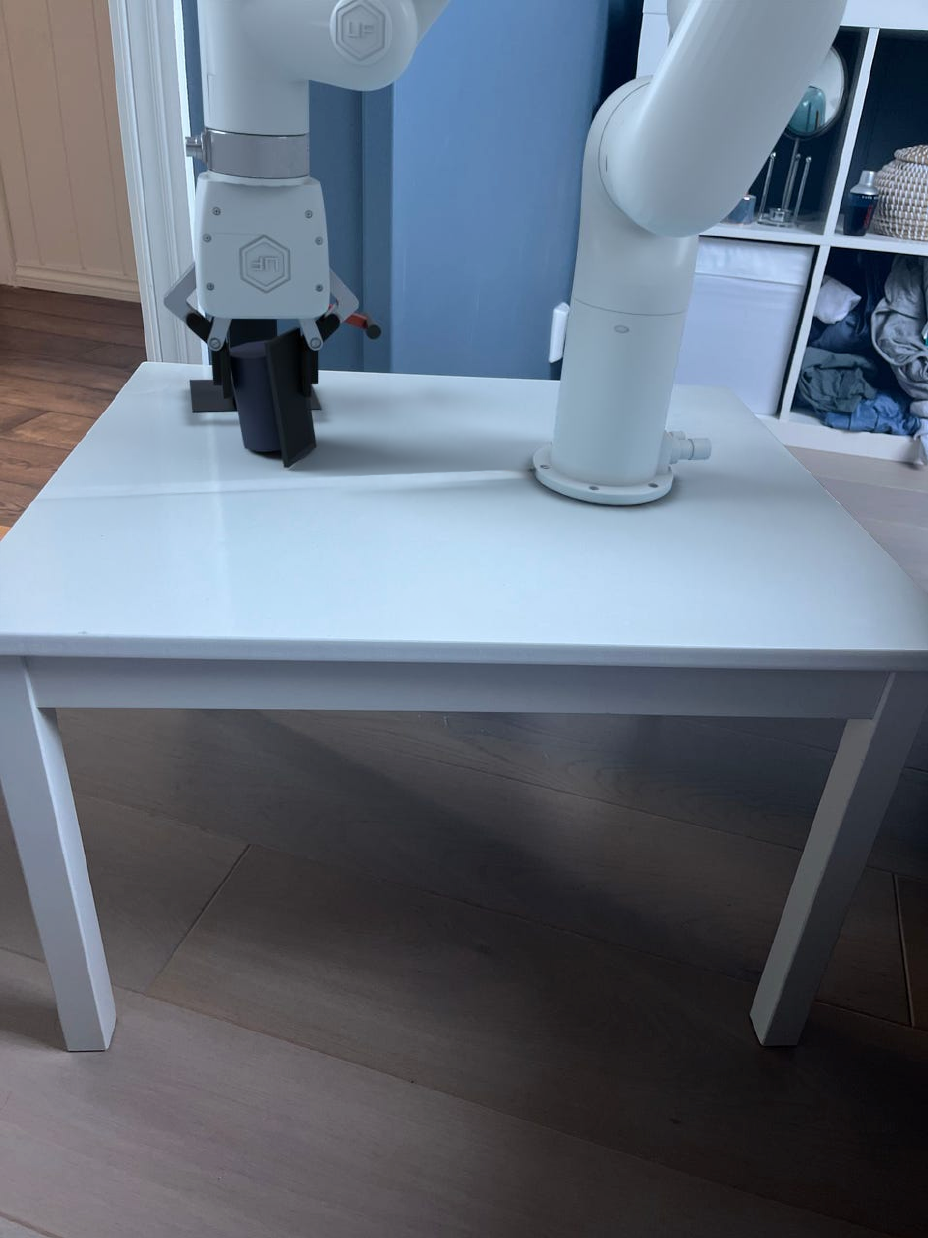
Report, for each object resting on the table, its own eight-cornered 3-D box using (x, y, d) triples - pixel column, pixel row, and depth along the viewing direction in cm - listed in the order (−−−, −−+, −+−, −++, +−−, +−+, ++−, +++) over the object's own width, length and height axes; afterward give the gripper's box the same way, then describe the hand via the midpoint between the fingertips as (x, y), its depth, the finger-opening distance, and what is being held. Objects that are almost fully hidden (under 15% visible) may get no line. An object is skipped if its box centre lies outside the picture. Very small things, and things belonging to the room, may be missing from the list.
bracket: (309, 389, 101) (308, 251, 94) (321, 420, 94) (320, 273, 87) (190, 391, 98) (179, 248, 91) (193, 423, 91) (181, 271, 84)
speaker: (336, 449, 85) (324, 328, 79) (287, 469, 81) (270, 344, 75) (278, 431, 89) (263, 316, 83) (228, 450, 85) (209, 330, 80)
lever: (367, 331, 98) (375, 308, 97) (376, 346, 94) (385, 322, 93) (229, 281, 92) (236, 256, 91) (232, 294, 88) (240, 269, 87)
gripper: (135, 159, 67) (159, 410, 76) (382, 169, 71) (375, 406, 81) (137, 144, 73) (159, 379, 83) (364, 155, 77) (360, 377, 87)
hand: (266, 390), depth 82 cm, fingers closed on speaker, 5 cm apart
